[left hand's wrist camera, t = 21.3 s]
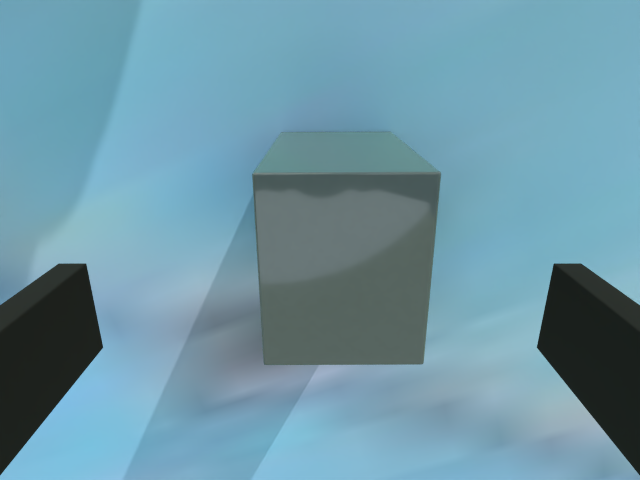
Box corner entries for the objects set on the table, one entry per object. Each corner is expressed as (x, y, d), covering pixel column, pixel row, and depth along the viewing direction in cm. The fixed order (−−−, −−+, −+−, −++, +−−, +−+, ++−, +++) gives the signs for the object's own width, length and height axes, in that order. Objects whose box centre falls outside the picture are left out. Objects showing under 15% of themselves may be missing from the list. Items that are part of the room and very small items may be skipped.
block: (285, 256, 28) (263, 365, 18) (280, 132, 26) (251, 172, 15) (385, 255, 28) (423, 365, 18) (391, 131, 26) (441, 171, 15)
